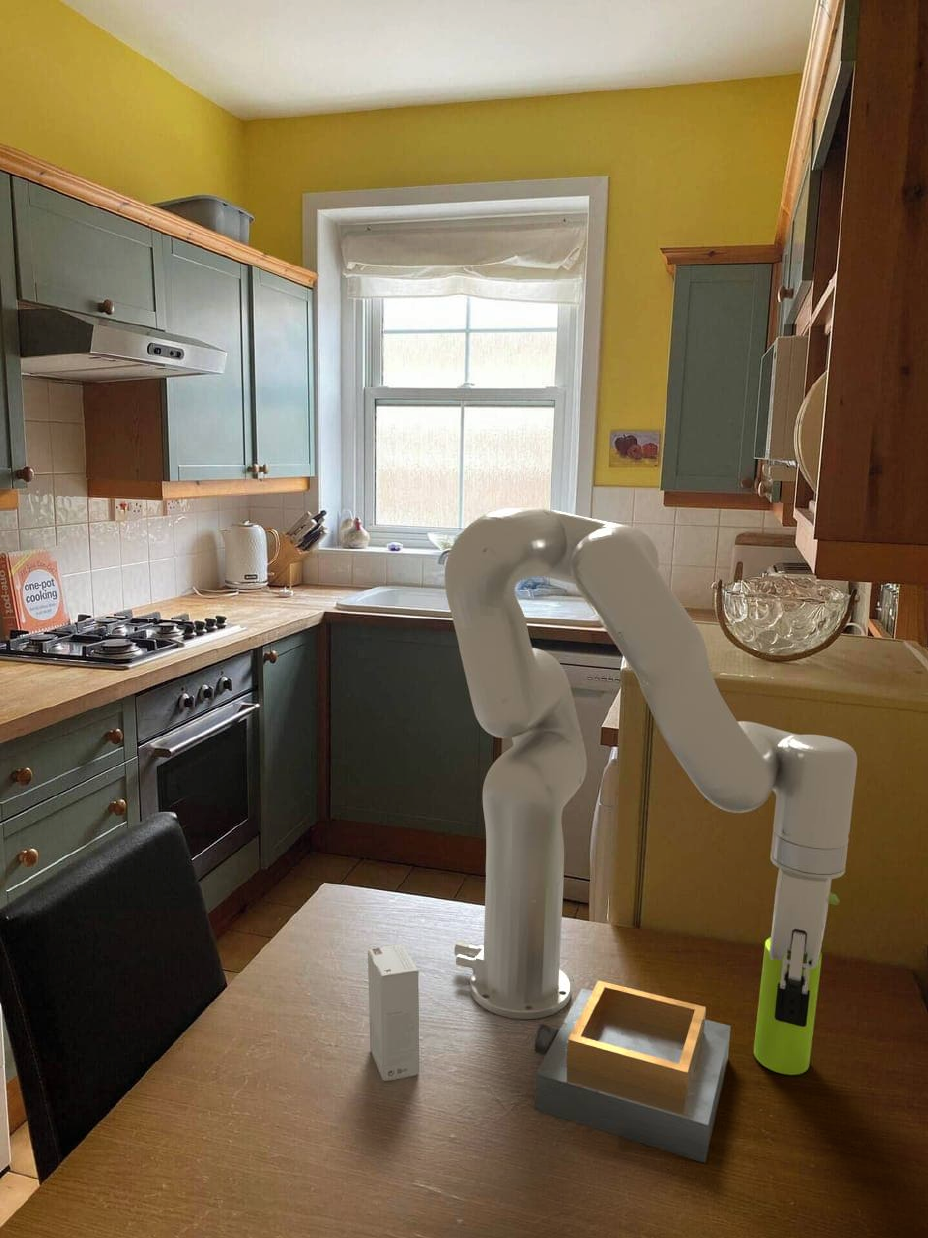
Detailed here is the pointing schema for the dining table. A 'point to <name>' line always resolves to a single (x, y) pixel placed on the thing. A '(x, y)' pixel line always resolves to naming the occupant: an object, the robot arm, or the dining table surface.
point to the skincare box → (394, 1012)
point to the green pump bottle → (779, 1040)
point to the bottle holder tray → (635, 1068)
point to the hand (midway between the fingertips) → (792, 1004)
